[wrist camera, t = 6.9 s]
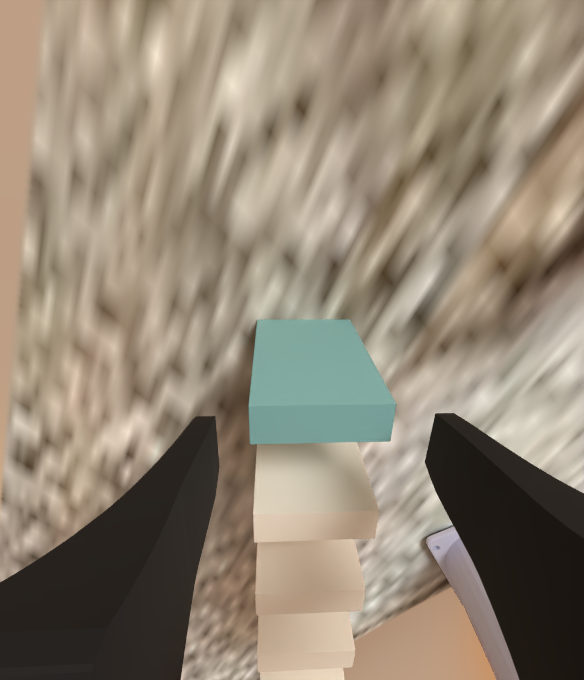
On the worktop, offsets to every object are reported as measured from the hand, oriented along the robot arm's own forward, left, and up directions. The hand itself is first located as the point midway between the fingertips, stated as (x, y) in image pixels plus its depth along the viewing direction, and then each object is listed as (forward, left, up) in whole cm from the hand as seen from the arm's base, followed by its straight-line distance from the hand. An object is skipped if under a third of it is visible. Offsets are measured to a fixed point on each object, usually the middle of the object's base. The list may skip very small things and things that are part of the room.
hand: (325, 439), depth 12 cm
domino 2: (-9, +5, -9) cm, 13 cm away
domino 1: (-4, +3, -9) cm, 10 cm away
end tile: (0, 0, -9) cm, 9 cm away
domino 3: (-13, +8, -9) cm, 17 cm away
